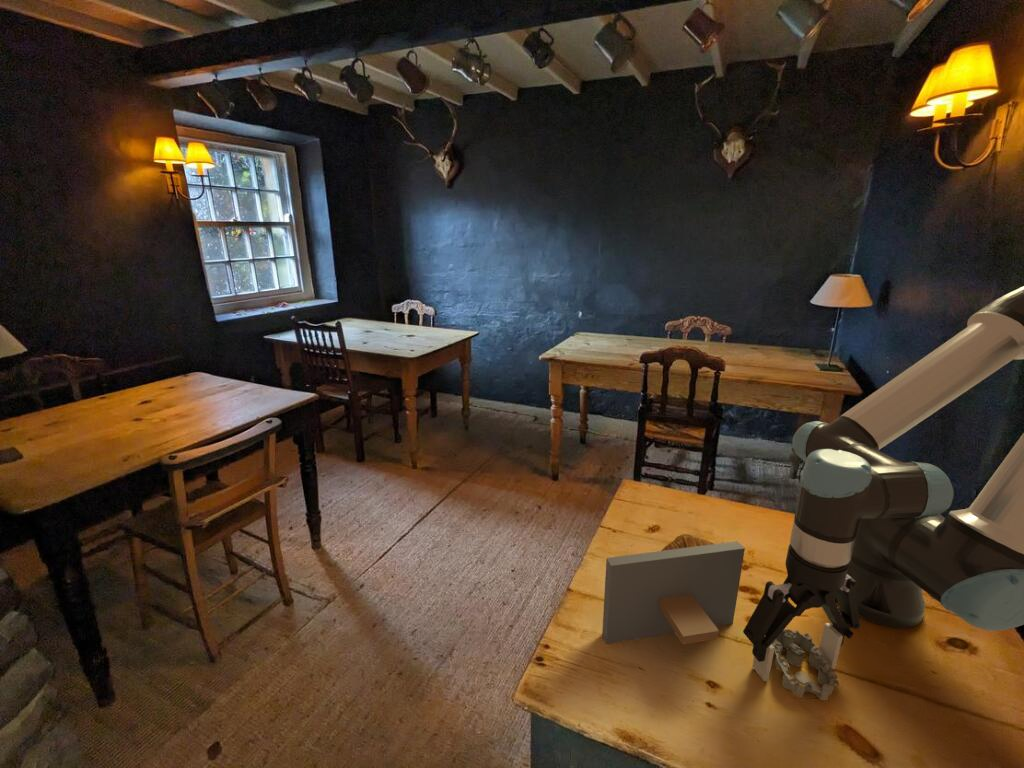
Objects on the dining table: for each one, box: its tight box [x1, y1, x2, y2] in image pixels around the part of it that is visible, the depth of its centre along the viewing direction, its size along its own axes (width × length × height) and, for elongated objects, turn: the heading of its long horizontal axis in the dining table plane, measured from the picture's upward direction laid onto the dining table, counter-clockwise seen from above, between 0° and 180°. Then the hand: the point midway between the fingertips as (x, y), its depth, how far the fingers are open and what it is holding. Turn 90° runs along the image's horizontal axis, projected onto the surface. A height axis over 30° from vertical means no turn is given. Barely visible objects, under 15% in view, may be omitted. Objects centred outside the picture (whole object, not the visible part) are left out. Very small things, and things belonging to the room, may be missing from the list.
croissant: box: [660, 533, 715, 551], centre depth 100 cm, size 14×7×5 cm, turn 101°
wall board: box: [601, 540, 746, 645], centre depth 76 cm, size 24×10×16 cm, turn 100°
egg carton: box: [772, 628, 840, 702], centre depth 74 cm, size 11×8×4 cm
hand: (793, 667), depth 74 cm, fingers open, 11 cm apart
